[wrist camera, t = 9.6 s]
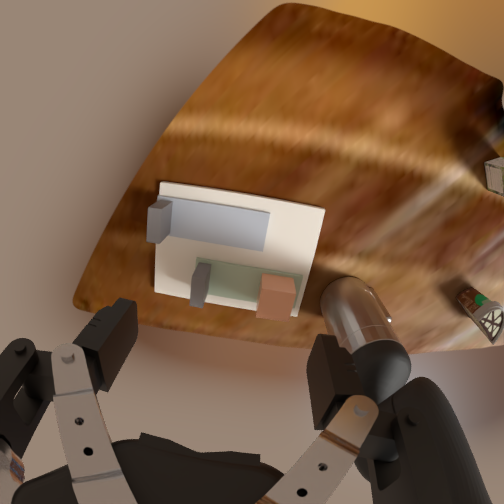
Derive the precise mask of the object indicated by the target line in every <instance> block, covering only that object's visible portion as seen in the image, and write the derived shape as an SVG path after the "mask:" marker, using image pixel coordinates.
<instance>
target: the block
mask: <svg viewBox="0 0 504 504" xmlns="http://www.w3.org/2000/svg"><path fill="white" fill-rule="evenodd" d="M295 297H296V289H295V284H294V279H293V278H290V277H284V276H277V275H271V274H265V273H262V276H261V281H260V286H259V290H258V295H257V301H256V317H258V318H264V319H271V320H278V321H285V322H289V318H290V315H291V311H292V308H293V304H294V301H295Z"/></svg>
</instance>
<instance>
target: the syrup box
mask: <svg viewBox="0 0 504 504" xmlns="http://www.w3.org/2000/svg"><path fill="white" fill-rule="evenodd" d="M484 166H485V172H486V180H487V189H488V191H491V192H493V193H496V194H498V195H501V196H504V158H503V157H499V158H496V159H493V160H490V161H487V162H484Z"/></svg>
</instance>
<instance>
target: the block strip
mask: <svg viewBox="0 0 504 504" xmlns="http://www.w3.org/2000/svg"><path fill="white" fill-rule="evenodd" d="M262 273H265V274H271V275H277V276H284V277H290V278H293V279H294V284H295V289H296V297H295V301H294V304H293V308H295V305H296V301H297V298H298V294H299V290H300V287H301V283H302V279H303V275H299V274H293V273H287V272H281V271H275V270H269V269H263V268H257V267H251V266H245V265H239V264H233V263H227V262H222V261H216V260H210V259H204V258H199V257H197V258H196V265H195V271H194V273H193V275H192V279H191V292H190V306H194V307H200V308H203V305H204V302H205V300H206V297H207V294H209V295H214V296H220V297H225V298H231V299H237V300H243V301H249V302H255V303H256V301H257V295H258V290H259V286H260V281H261V276H262Z"/></svg>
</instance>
